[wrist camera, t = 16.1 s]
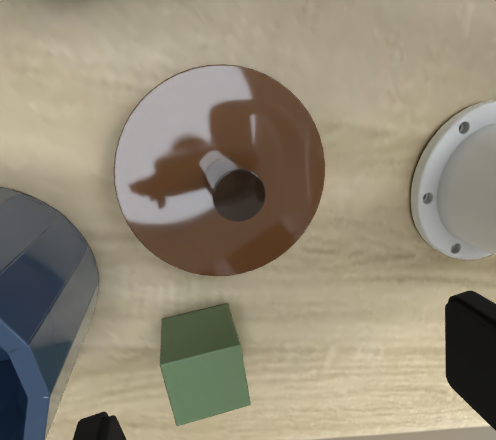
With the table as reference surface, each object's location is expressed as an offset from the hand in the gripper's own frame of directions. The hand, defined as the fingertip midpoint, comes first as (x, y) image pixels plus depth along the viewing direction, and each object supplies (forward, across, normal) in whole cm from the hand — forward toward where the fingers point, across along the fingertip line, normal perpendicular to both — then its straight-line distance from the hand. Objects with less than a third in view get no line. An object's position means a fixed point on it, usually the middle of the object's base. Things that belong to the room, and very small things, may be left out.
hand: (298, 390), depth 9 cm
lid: (+15, -1, -3) cm, 15 cm away
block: (+16, +4, +9) cm, 18 cm away
